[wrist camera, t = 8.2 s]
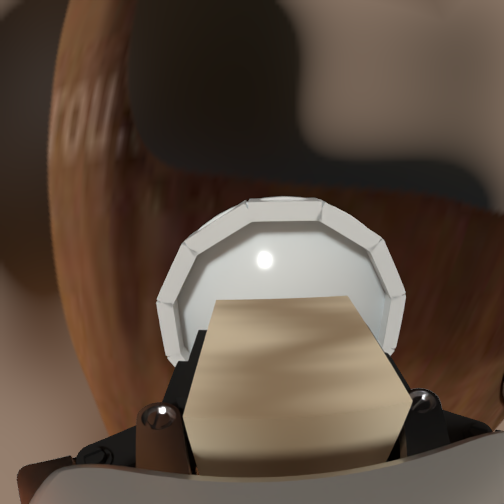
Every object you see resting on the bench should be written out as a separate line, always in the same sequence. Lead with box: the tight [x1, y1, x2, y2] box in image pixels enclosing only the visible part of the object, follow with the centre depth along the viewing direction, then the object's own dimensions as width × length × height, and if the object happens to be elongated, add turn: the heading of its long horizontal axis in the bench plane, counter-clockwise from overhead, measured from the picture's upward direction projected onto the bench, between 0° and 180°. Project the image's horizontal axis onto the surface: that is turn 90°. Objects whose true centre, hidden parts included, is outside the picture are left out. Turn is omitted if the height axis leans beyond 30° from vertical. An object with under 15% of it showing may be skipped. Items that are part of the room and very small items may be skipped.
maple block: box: [183, 296, 412, 478], centre depth 9 cm, size 5×5×6 cm
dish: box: [156, 196, 406, 367], centre depth 14 cm, size 12×12×1 cm
